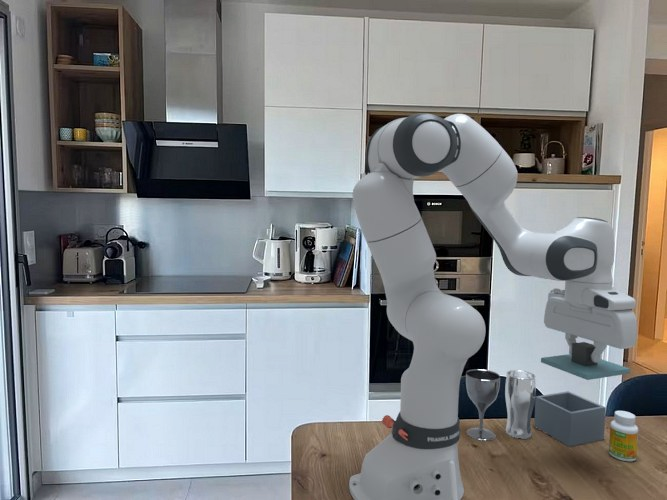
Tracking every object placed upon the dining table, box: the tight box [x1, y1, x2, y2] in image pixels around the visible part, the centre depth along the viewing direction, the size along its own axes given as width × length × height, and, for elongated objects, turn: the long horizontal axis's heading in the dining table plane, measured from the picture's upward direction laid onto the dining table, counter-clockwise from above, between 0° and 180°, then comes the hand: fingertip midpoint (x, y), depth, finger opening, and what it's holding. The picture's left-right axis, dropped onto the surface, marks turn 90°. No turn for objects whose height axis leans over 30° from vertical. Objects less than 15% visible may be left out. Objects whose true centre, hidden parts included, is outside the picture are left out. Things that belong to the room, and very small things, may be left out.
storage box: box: [533, 391, 607, 448], centre depth 117 cm, size 11×11×8 cm
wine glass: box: [465, 368, 501, 442], centre depth 116 cm, size 8×8×15 cm
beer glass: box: [504, 369, 537, 440], centre depth 116 cm, size 7×7×15 cm
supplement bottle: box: [608, 410, 639, 462], centre depth 106 cm, size 5×5×10 cm
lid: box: [540, 341, 631, 381], centre depth 101 cm, size 12×12×5 cm
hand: (584, 358), depth 101 cm, fingers closed on lid, 3 cm apart
